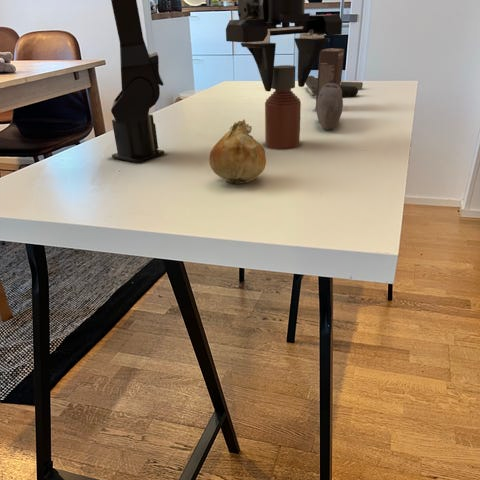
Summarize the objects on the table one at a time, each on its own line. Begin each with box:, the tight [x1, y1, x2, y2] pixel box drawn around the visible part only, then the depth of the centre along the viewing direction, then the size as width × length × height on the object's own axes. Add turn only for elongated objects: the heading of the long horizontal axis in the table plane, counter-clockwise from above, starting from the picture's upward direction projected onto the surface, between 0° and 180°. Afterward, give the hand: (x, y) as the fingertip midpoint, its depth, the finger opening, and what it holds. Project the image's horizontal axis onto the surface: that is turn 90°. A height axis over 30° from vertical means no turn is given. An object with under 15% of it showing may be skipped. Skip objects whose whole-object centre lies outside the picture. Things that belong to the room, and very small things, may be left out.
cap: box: [271, 64, 296, 90], centre depth 79 cm, size 4×4×3 cm
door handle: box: [305, 75, 364, 98], centre depth 130 cm, size 3×20×16 cm
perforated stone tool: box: [315, 83, 344, 130], centre depth 94 cm, size 15×5×7 cm, turn 168°
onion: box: [208, 118, 267, 185], centre depth 66 cm, size 8×8×8 cm
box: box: [315, 48, 345, 111], centre depth 107 cm, size 6×4×12 cm
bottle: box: [264, 89, 302, 150], centre depth 81 cm, size 6×6×12 cm
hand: (284, 88), depth 80 cm, fingers open, 6 cm apart
